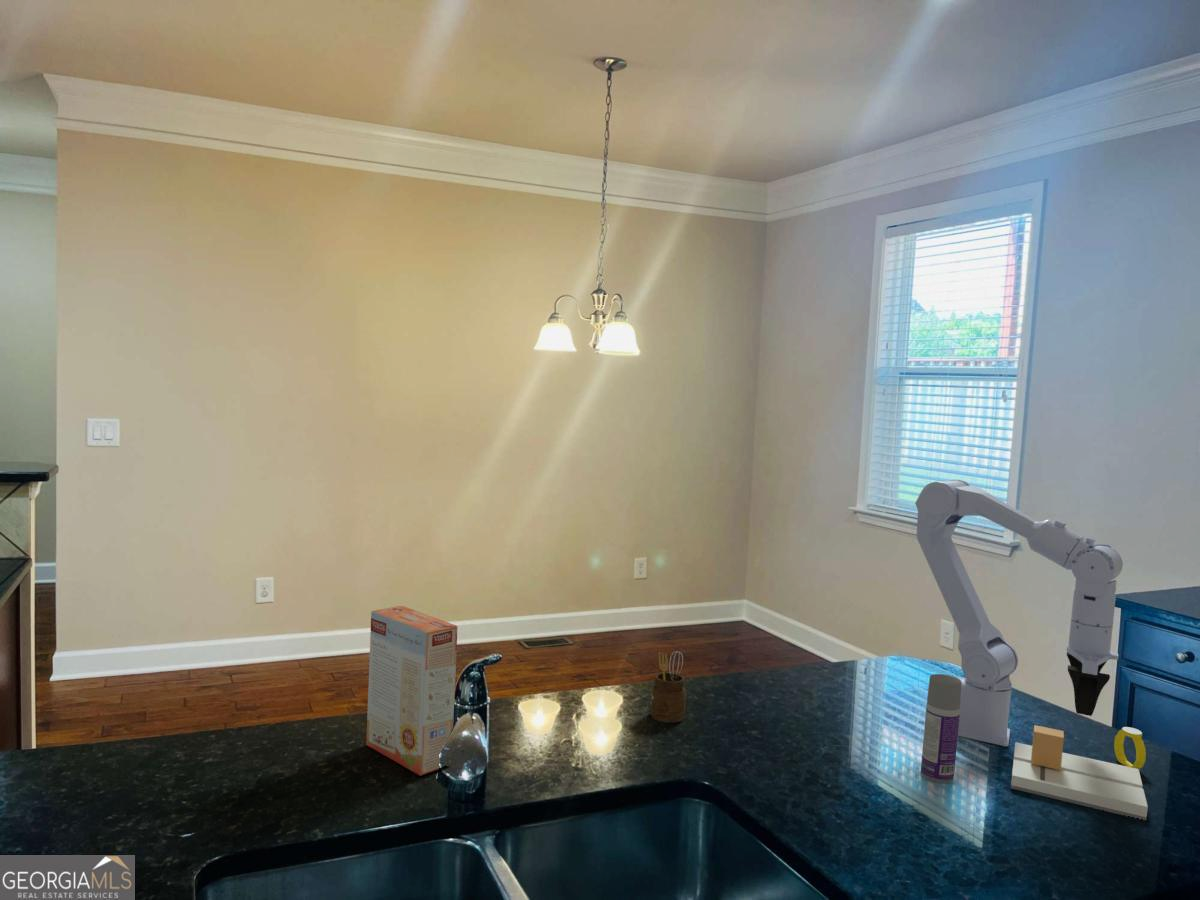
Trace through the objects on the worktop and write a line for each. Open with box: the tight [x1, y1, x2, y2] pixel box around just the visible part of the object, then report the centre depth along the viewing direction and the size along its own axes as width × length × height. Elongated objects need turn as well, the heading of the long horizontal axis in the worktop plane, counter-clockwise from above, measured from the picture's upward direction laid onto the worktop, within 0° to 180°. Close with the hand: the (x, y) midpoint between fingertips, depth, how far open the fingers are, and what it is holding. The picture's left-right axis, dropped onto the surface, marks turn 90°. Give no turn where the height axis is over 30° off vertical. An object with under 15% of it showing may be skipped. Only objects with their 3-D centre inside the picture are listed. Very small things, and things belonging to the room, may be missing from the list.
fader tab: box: [1031, 724, 1065, 770], centre depth 131 cm, size 4×3×7 cm
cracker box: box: [365, 605, 459, 776], centre depth 126 cm, size 14×6×21 cm, turn 47°
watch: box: [1113, 726, 1147, 770], centre depth 137 cm, size 6×3×6 cm, turn 1°
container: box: [920, 673, 962, 784], centre depth 129 cm, size 5×5×15 cm
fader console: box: [1010, 741, 1149, 821], centre depth 129 cm, size 17×14×2 cm
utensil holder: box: [650, 650, 687, 724], centre depth 146 cm, size 6×6×12 cm
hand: (1083, 706), depth 136 cm, fingers open, 7 cm apart
